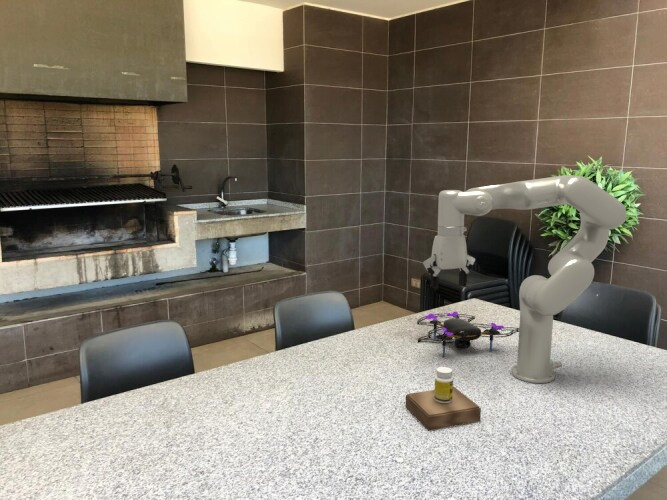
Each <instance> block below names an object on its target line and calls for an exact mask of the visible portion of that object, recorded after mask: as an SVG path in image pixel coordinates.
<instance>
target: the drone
mask: <svg viewBox="0 0 667 500" xmlns="http://www.w3.org/2000/svg"><path fill="white" fill-rule="evenodd" d="M450 317H451V318H450ZM437 318H443V319H445V320H442V321H439V320H438V319H437ZM462 318H463V319H462ZM431 319H432V320H431ZM475 319H476V315H470V314H467V313H458V311H453V312H451V313H450V312H447V313H446V312H445V313H443V314H441V313H429V314H428V315H425V316H422V317H421V318H419V319H418V320H417V321H416V322H417V323H416V325H420V326H430V327H433V329H431V330H428V332H427V335H424V336H420V337H419V338H418V339H417V343H432V344H442V358H445V357H446V346H447V344H451V343H453V346H454V347H455V349H457V350H465V349H470V347H471V345H472V343H471V341H475V340H478V339H479V338H480V337H481V338H489V352H493V340H494V338H505V337H511V336H512V335H514V334H516V333H519V327H512V326H511V327H505V326H504V325H497V324H496V323H495V322H490V324H489V326H488V323H487V324H486V323H476V325H475V324H474V323H472V321H473V320H475ZM425 320H430V321H429V322H428V321H427V322H425ZM481 328H482V329H484V330H483V331H482V330H481ZM499 330H500V331H499ZM439 331H440V332H439ZM501 331H502V332H504V331H510V332H507V333H502V332H501ZM432 334H433V339H432Z"/></svg>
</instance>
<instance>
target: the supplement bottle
mask: <svg viewBox="0 0 667 500" xmlns="http://www.w3.org/2000/svg"><path fill="white" fill-rule="evenodd" d="M453 387H454V378H453V369H452V368H450V367H447V366H440V367H437V368H436V375H435V376H434V389H433V390H434V399H435V400H436V401H437V402H439V403H450V402H451V401H452V395H453Z"/></svg>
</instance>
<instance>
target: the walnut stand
mask: <svg viewBox="0 0 667 500" xmlns="http://www.w3.org/2000/svg"><path fill="white" fill-rule="evenodd" d="M434 390H435V389H431V390H426V391H418V392H413V393H412V392H411V393H407V394H405V408H406V410H407V411H409V413H410V414H411V415H412V416H413V417H414V418H415V419H416V420H417V421H418V422H419V423H420V424H421V425H422V426H423V427H424V428H425V429H426V430H427V431H435V430H440V429H444V428H450V427H457V426H461V425H463V426H464V425H467V424H473V423H474V424H475V423H479V422H481V415H482V408H481V407H480V405H478V404H477V403H476V402H474V400H472V399H471V398H469V397H468V396H466V395H465V394H464V393H463V392H461V391H460V390H459V389H457V388H456V387H455V386H453V395H452V401H451V402H450V403H439V402H437V401H436V400H435V399H434Z"/></svg>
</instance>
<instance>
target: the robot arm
mask: <svg viewBox="0 0 667 500" xmlns="http://www.w3.org/2000/svg"><path fill="white" fill-rule="evenodd" d="M437 204H438V206H437V207H438V209H437V212H438V213H437V215H438V216H437V235H435V236H434V239H433V244H432V248H431V256H430V257H429V258H428V259H426V260H424V261H423V262H422V265H423V267H424V268H425V271H426V272H427V273H428V274H429V276H430V287H431V288H432V289H434V290H439V280H440V278H439V276H438V275H439V273H441V271H444V270H446V271H447V270H455V269H456V270H458V269H459V270H460V271H459V274H458V285H459V286H462V287H464V288H465V287H467V283H468V274H469V273H470V270H472V268H473V265H474V264H475V261H476V258H475V257H474V256H471V255H469V254H468V250H467V242H466V236H465V235H464V233H465V232H467V226H465V225H464V224H465V215H470V216H478V217H479V216H481V217H482V216H484V215H486V214H488V213H490V212H491V210H500V209H511V210H512V209H513V210H521V211H523V210H533V209H540V208H548V207H555V206H562V205H563V206H564V205H568V206H571V207H573V208H574V209H576V210H577V211H578V212H579V216H580V226H579V230H578V232H577V233H576V234H575V235H574V237H573V238H572V239H571V240H569V242H567V243H566V245H565V246H564V247H562V248H561V249H560V250H559V251H558V252H557V253H556V254H555V255H554V256H553V257H552V258H551V259H550V260H549V261H548V265H547V270H548V273H549V275H550V277H549V278H546V277H545V276H543V275H537V274H534V275H530V276H528V277H526V278H525V279H523V281H522V282H521V284H520V287H519V292H518V294H519V295H518V297H519V326H518V328H519V332H518V343H517V356H516V357H517V358H516V365H514V366H512V367H511V371H510V373H511V374H512V376H513V377H515V378H516V379H519V380H521V381H524V382H527V383H533V384H547V383H550V382H553V381H554V379H555V373H554V371H553V370H555V369H561V368H563V362H562V361H553V360H552V359H551V354H552V340H553V327H554V316H556V315H558V314H559V313H561V312H562V311H564V310H565V309H566V308H567V307H568V306H569V305H571V304H572V302H574V301H575V300H576V299H577V298H578V297H579V296H580V295H581V294H583V292H585V290H586V289H587V288H588V287H589V286H590V285H591V284H592V282H593V280H594V277H595V268H594V265H593V263H592V262H594V260H595V259H597V258H598V256H599V255H600V254H601V253H602V252H603V251H604V249H605V248H606V246H607V244H608V240H609V236H610V230H614V229H617V228H619V227H621V225H623V224H624V222H625V221H626V220H627V219H626V218H627V210H626V207H625V205H624V204H623V203H622V202H621V200H619V199H617V198H616V197H615V196H613V195H612V194H610V192H609V193H608V192H607V191H606V190H604V189H603V188H602V187H600V186H599V185H598V184H596V183H594V182H593V181H591V180H589V178H586V177H585V176H582V175H576V174H575V175H574V174H573V175H572V174H567V175H566V174H565V175H564V174H563V175H557V176H550V177H544V178H543V177H542V178H535V179H529V180H521V181H513V182H508V183H502V184H495V185H487V186H485V185H483V186H479V187H472V188H469V189H467V190H465V191H462V190H458V189H447V190H446V189H445V190H441V191H440V192H439V194H438V203H437Z"/></svg>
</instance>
